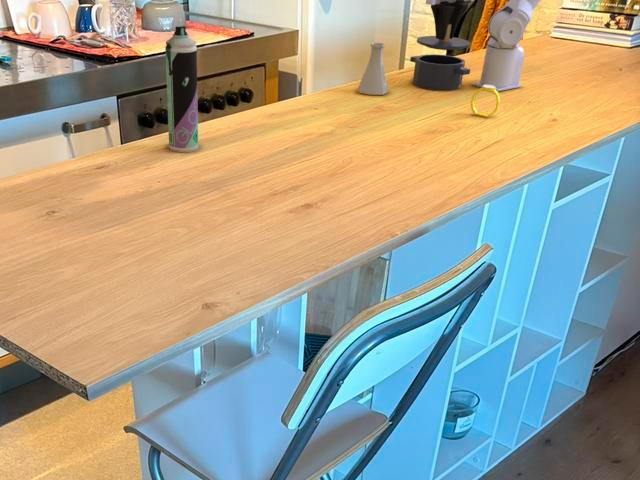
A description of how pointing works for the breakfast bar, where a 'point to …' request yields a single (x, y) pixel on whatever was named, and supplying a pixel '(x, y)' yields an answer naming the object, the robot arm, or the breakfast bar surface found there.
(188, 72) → the spray can
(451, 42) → the lid
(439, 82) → the dark grey pot
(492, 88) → the yellow ring
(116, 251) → the breakfast bar surface
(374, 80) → the flask
